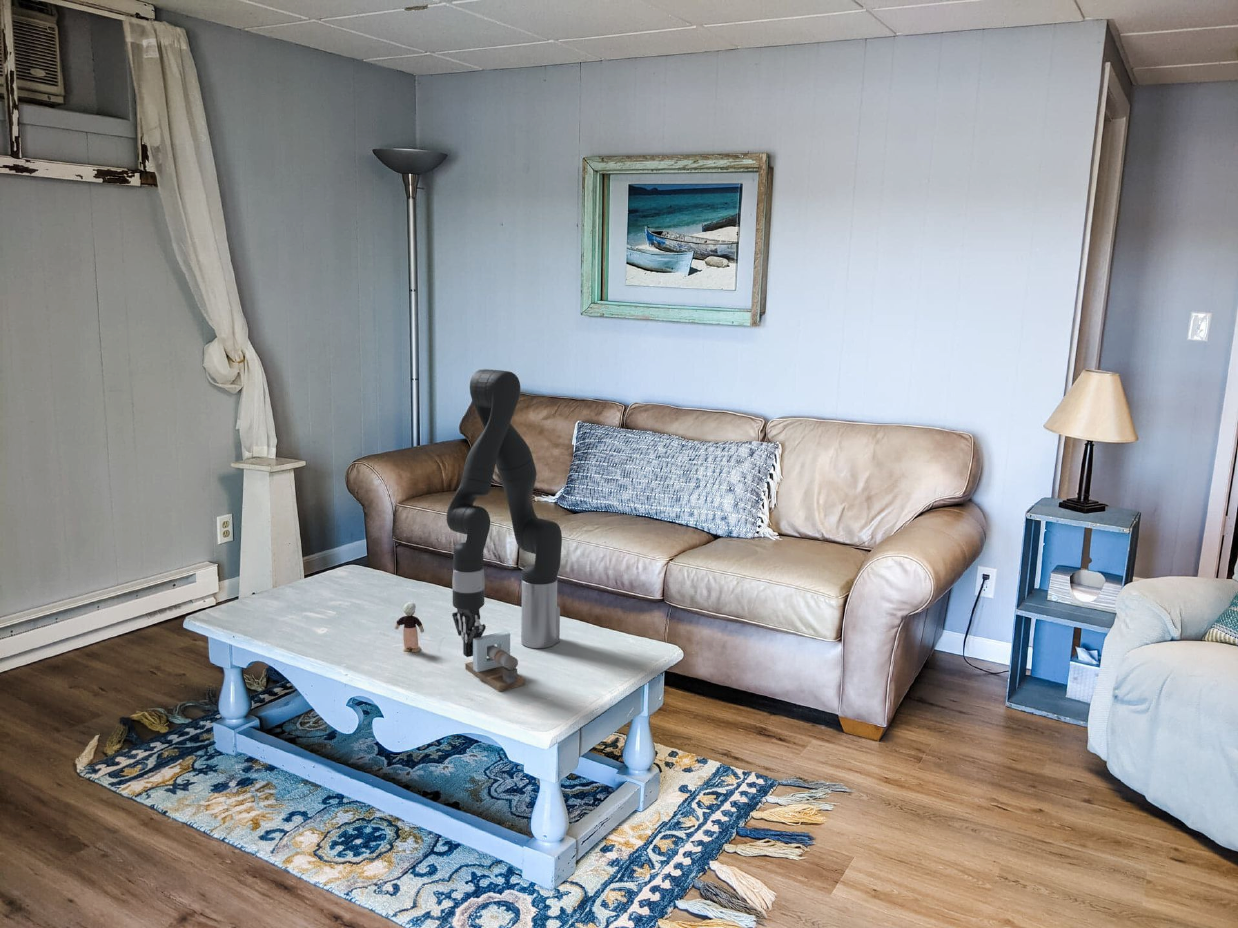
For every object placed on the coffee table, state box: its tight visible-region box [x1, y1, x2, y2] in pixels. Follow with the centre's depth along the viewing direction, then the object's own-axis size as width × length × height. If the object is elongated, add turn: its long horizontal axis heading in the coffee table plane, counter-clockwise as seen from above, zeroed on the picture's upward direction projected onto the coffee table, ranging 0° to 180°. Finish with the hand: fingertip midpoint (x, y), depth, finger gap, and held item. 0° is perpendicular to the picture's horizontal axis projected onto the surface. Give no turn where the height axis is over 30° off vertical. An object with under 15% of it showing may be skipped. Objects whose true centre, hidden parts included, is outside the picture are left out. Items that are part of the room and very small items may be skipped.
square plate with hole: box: [472, 630, 511, 672], centre depth 225 cm, size 9×2×8 cm, turn 128°
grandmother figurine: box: [394, 601, 425, 653], centre depth 240 cm, size 8×4×13 cm, turn 92°
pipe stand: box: [464, 645, 526, 693], centre depth 225 cm, size 7×16×8 cm, turn 38°
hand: (468, 655), depth 228 cm, fingers closed
